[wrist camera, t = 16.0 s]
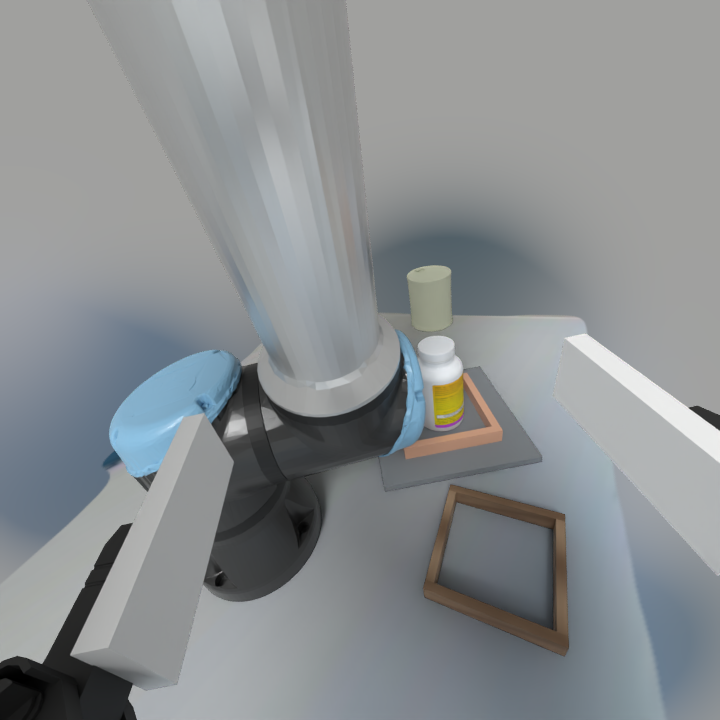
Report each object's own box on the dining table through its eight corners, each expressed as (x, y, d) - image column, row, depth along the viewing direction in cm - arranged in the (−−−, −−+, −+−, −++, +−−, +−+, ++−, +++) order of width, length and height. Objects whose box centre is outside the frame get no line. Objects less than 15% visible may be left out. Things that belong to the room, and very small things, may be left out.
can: (431, 308, 81) (428, 260, 75) (461, 319, 74) (461, 267, 68) (403, 323, 78) (397, 274, 71) (431, 336, 71) (427, 283, 64)
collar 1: (501, 440, 44) (502, 430, 43) (405, 459, 45) (404, 449, 43) (467, 382, 55) (467, 372, 54) (389, 397, 55) (388, 388, 54)
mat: (541, 461, 42) (542, 456, 41) (385, 491, 42) (384, 486, 42) (479, 371, 58) (479, 366, 58) (368, 393, 59) (367, 388, 58)
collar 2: (564, 656, 27) (568, 648, 26) (424, 597, 32) (423, 588, 31) (561, 524, 35) (565, 514, 34) (450, 494, 40) (450, 484, 39)
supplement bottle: (472, 411, 49) (473, 337, 42) (449, 440, 46) (446, 365, 39) (432, 396, 54) (427, 327, 47) (409, 422, 50) (399, 351, 43)
